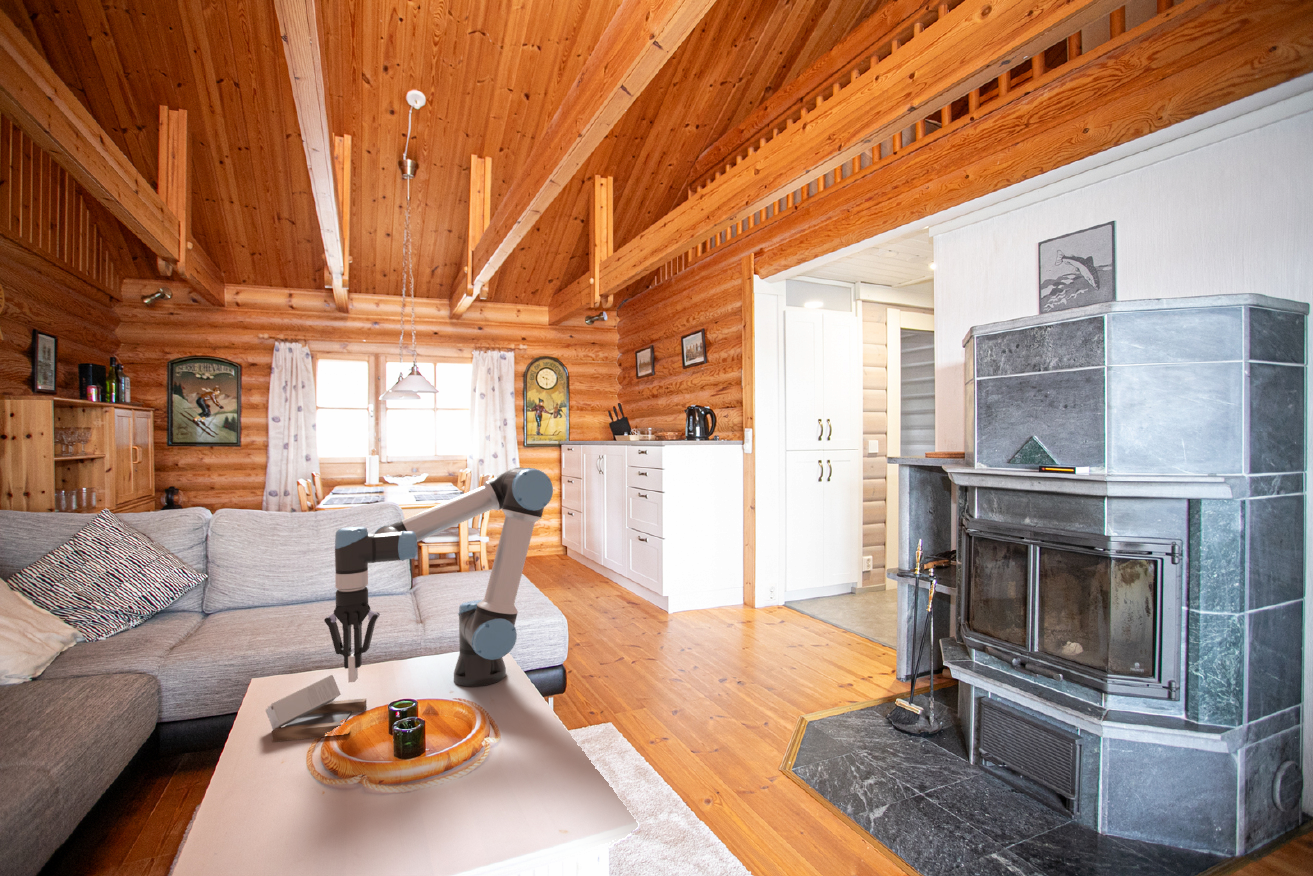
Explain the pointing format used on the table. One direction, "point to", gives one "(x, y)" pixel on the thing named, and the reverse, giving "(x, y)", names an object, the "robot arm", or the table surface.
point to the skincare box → (302, 702)
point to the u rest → (318, 720)
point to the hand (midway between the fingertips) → (353, 680)
